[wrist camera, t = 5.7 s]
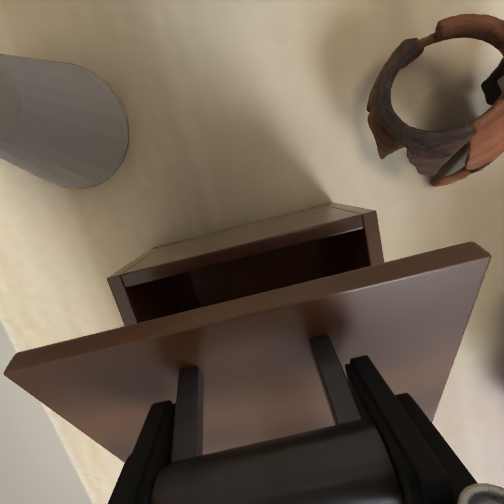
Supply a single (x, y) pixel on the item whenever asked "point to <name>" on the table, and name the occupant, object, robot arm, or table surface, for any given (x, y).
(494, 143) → the pottery mug
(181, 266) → the chest
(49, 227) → the table surface
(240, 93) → the table surface
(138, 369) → the lid
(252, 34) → the table surface
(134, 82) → the table surface
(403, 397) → the robot arm
